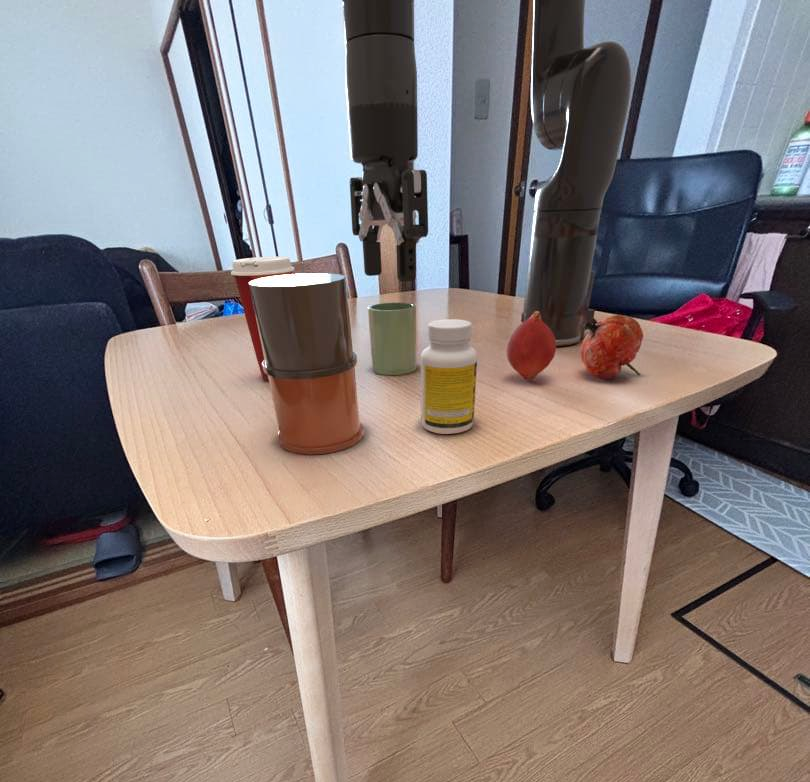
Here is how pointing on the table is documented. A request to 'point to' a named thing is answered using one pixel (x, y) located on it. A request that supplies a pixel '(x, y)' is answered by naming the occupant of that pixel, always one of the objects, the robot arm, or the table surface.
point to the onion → (531, 347)
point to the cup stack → (309, 360)
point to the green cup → (393, 337)
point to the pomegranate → (611, 345)
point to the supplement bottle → (448, 378)
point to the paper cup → (244, 275)
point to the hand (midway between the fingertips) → (389, 278)
